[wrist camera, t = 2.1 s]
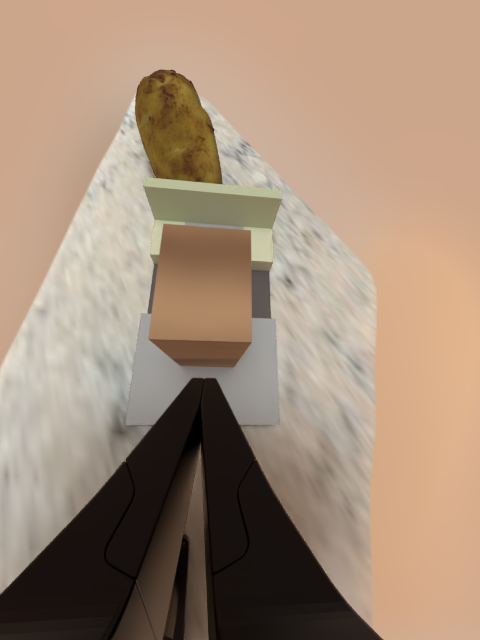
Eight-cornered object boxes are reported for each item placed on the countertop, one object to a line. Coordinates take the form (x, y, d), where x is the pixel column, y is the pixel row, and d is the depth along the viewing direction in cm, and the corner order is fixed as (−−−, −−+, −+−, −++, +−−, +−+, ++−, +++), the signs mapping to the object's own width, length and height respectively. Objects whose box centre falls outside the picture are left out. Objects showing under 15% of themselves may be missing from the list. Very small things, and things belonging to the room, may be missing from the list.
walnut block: (234, 367, 20) (252, 342, 11) (180, 366, 20) (148, 339, 10) (235, 301, 22) (251, 230, 12) (186, 299, 21) (163, 223, 12)
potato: (148, 223, 26) (121, 152, 18) (147, 139, 30) (124, 50, 22) (224, 221, 27) (227, 153, 19) (214, 140, 31) (214, 56, 23)
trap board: (273, 422, 21) (295, 432, 15) (133, 422, 20) (100, 433, 14) (267, 233, 27) (281, 189, 21) (160, 225, 26) (144, 177, 20)
